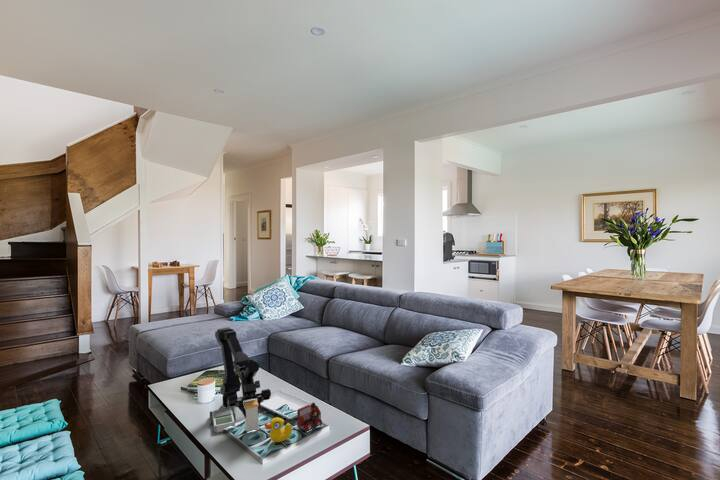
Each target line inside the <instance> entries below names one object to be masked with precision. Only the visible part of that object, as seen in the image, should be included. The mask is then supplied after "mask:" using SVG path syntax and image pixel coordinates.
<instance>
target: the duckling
mask: <svg viewBox="0 0 720 480" xmlns="http://www.w3.org/2000/svg"><path fill="white" fill-rule="evenodd" d="M284 425H285V426H284ZM264 428H265V429H266V430H269V431H270V432H269V438H270V440H271V441H272V442H274V443H277V442H278V443H280V442H284V441H286V440H288V439H289V438H290V437H291V436H292V432H293V430H292V429H293V427H292V424H290V423H289V422H288V423H286V424H285V420H284V419H283V418H281V417H273V418H272V419H271V420H270V421H269V423H266V422H265V423H264Z"/></svg>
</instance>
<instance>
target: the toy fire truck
mask: <svg viewBox="0 0 720 480" xmlns="http://www.w3.org/2000/svg"><path fill="white" fill-rule="evenodd" d="M297 415H298V417H297V418H298V420H297V422H296V426H297V427H296V428H298V429H299V430H303V429H304V432H305V431H306V432H305V433H307V431H309V430H311V429H312V428H315V427H317V426H319V425H321V424H323V422H322V413H321V410H320V408H319V406H318V405H316V403H315V402H311V405H307V406H304V407H302V408H300V409H298V410H297ZM321 426H322V425H321ZM312 430H313V429H312Z"/></svg>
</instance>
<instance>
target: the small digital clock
mask: <svg viewBox="0 0 720 480" xmlns="http://www.w3.org/2000/svg"><path fill="white" fill-rule="evenodd" d="M236 416H237V415H236V411H235V406H233V407H226V408H221V409H218V410H213V411H209V419H210V425H213V429H214V434H216V433H220V432H224V431H223V430H224V428H227V427H229V426H235V427H236V424H235V420H236V419H237V417H236Z"/></svg>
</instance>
